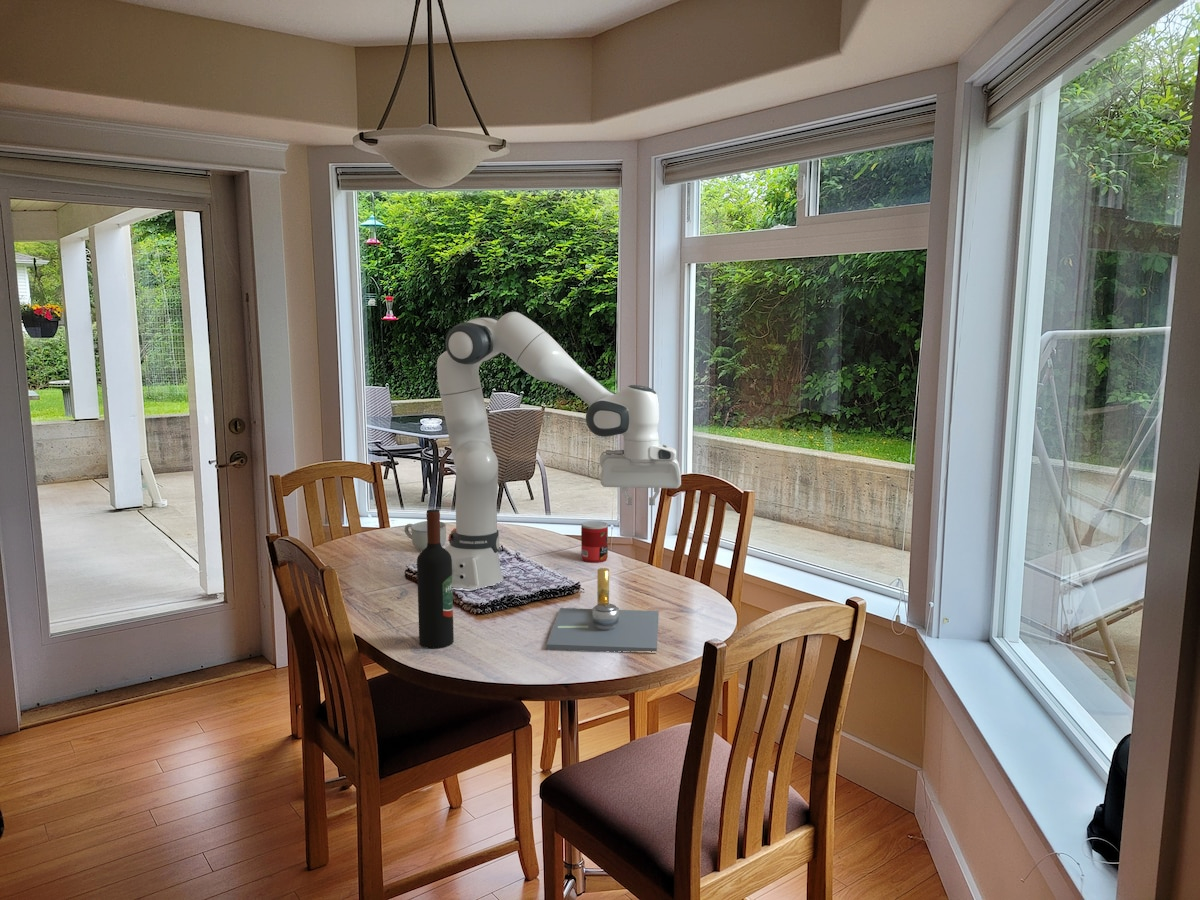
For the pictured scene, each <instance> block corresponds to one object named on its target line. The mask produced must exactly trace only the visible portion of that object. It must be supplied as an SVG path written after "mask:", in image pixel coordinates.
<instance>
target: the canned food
mask: <svg viewBox="0 0 1200 900" xmlns="http://www.w3.org/2000/svg"><path fill="white" fill-rule="evenodd" d="M580 530H581V531H580V532H581V539H580V540H581V541H580V542H581V546H580V547H581V551H580V552H581V553H580V554H581V559H582V561H583V562H585V563H592V564H597V563H598V564H599V563H604V562H606V561H607V560H608V556H609V555H608V554H609V552H608V551H609V548H608V547H609V546H608V545H609V541H608V539H609V538H608V536H609V525H608V523H607V522H604V521H601V520H600V521H597V520H590V521H584V522H582V523H581V527H580Z"/></svg>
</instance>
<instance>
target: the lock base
mask: <svg viewBox="0 0 1200 900" xmlns="http://www.w3.org/2000/svg"><path fill="white" fill-rule="evenodd" d="M659 616H660V615H659V610H642V609H641V610H638V609H636V610H635V609H634V610H633V609H619V622H618V623H617V624H615V625H611V626H600V625H596V624H594V623H593V608H573V607H561V608H560V609H559V611H558V614H557V616H556V619H555V621H554V624H553V627H552V629H551V632H550V634H549V636H548V639H547V642H546V648H545V649H546V650H550V651H573V652H574V651H577V652H578V651H580V652H600V651H603V652H602V653H605V652H606V651H609V652H608V653H619V652H618V651H621V652H620V653H624V652H623V651H630V652H631V651H651V652H652V651H657V650H658V636H657V634H658V632H659ZM614 651H615V652H614ZM657 652H658V651H657ZM606 653H607V652H606Z"/></svg>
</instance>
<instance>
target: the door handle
mask: <svg viewBox="0 0 1200 900" xmlns="http://www.w3.org/2000/svg"><path fill="white" fill-rule="evenodd" d="M596 583H597V588H596V589H597V596H596V597H597V598H596V599H597V603H596V605H594V606H593V607H592V609H593V623H594V624H596V625H600V626H611V625H615V624H617V623H618V622H619V610H620V609H619V607H618V606H616V605H615V604H614V603H610V569H609V568H605V567H604V568H603V567H600V568H598V569H597V582H596Z"/></svg>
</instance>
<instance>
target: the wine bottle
mask: <svg viewBox="0 0 1200 900" xmlns="http://www.w3.org/2000/svg"><path fill="white" fill-rule="evenodd" d="M440 519H441V513H440V509H435V508H433V509H428V510H426V521H427V539H428V543H427V547H426V548H425V549H424V550H423V551H420V553H419V554H418V555H417V558H416V570H417V571H416V573H417V574H416V575H417V576H416V578H417V580H416V581H417V605H418V606H417V609H418V639H419V641H418V644H419V646H420V647H421V648H422V647H423V648H424V649H433V650H434V649H442V648H447V647H449V646H451V645H452V644H453V643H454V640H455V639H454V638H455V637H454V602H453V601H454V593H453V591H454V590H453V589H452V558H451V555H450V554H449V552H448V551H447V550H445V548H444V547H443V546H441V543H440V522H441V520H440Z"/></svg>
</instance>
